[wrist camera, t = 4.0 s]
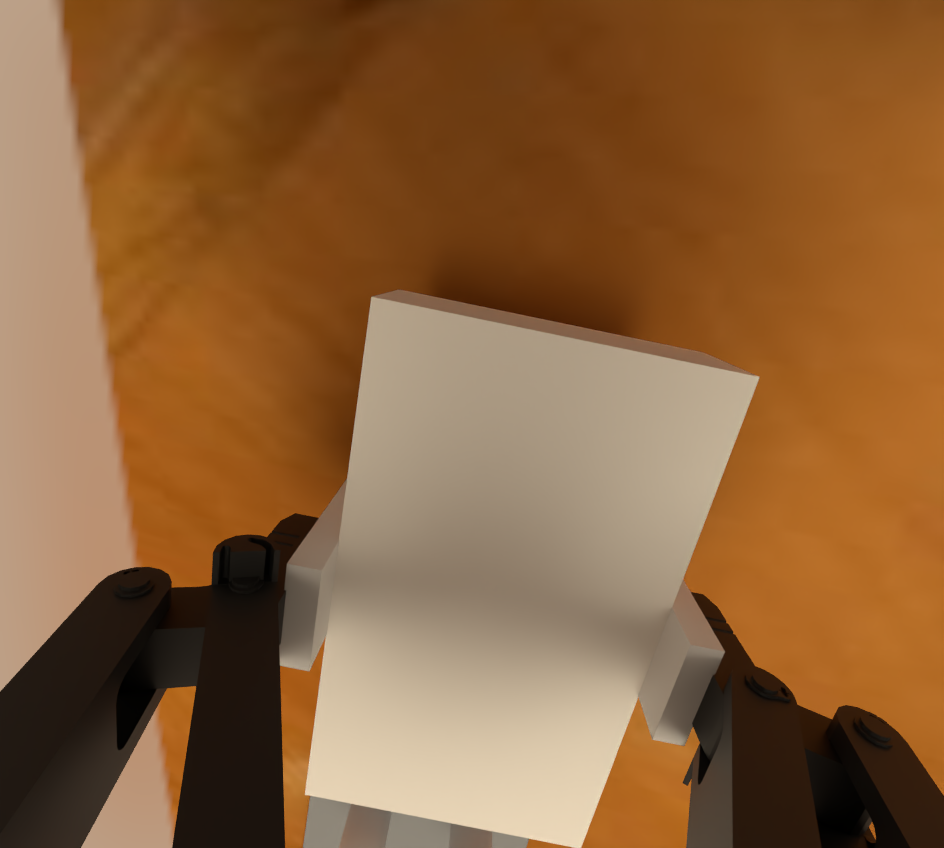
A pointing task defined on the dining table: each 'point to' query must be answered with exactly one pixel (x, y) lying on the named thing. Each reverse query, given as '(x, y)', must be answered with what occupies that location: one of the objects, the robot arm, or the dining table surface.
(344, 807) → the peg stand
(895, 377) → the dining table surface
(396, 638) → the shelf board
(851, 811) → the robot arm
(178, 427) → the dining table surface
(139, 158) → the dining table surface
